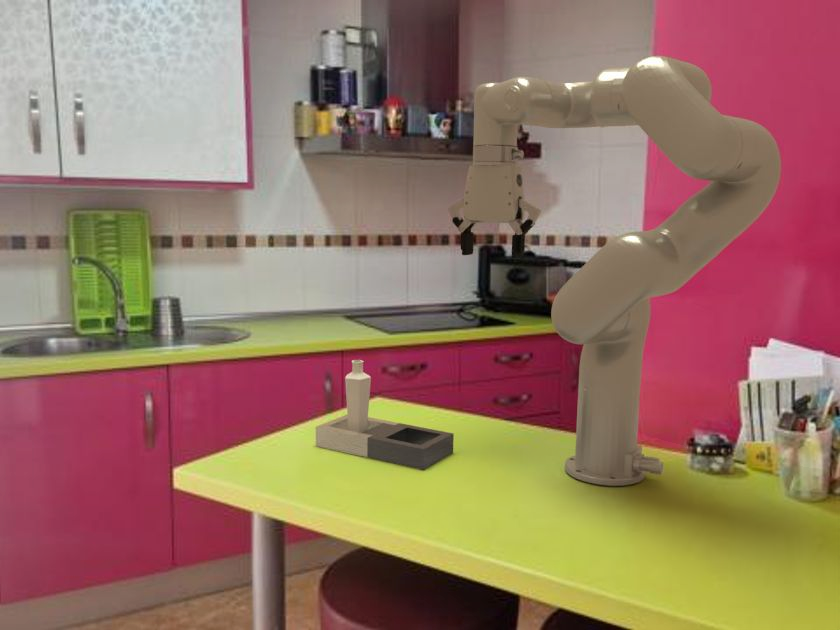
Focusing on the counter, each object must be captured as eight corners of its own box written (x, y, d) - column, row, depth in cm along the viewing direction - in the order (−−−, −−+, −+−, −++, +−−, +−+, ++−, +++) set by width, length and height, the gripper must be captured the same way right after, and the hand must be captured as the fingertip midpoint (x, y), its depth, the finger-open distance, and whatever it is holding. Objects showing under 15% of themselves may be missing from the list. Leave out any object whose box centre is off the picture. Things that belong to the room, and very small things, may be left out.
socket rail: (453, 453, 133) (453, 433, 132) (423, 470, 124) (423, 449, 124) (349, 431, 144) (349, 413, 143) (315, 446, 135) (315, 426, 135)
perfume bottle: (356, 437, 140) (356, 357, 138) (374, 443, 137) (374, 360, 135) (338, 444, 137) (338, 361, 134) (356, 449, 134) (356, 364, 132)
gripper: (549, 158, 133) (545, 257, 135) (460, 159, 141) (458, 252, 144) (532, 155, 126) (528, 260, 129) (440, 157, 135) (438, 254, 138)
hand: (491, 256), depth 136 cm, fingers open, 9 cm apart
